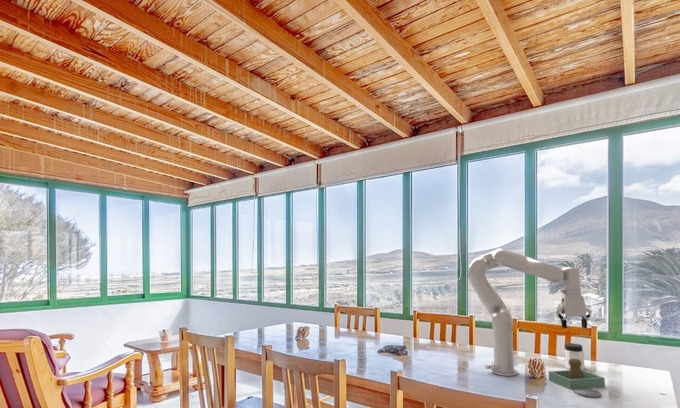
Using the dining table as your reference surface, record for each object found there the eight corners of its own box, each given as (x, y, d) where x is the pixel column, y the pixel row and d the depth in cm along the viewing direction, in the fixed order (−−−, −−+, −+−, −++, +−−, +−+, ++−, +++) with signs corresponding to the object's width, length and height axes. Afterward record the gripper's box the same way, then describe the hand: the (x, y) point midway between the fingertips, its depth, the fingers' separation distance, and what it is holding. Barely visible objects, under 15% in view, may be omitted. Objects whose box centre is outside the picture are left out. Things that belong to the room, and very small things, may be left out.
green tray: (570, 389, 184) (569, 380, 184) (548, 380, 197) (548, 371, 198) (605, 386, 187) (604, 377, 187) (581, 377, 201) (581, 369, 201)
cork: (569, 380, 196) (568, 356, 198) (584, 382, 193) (582, 358, 194) (568, 383, 191) (566, 359, 193) (583, 386, 188) (581, 361, 189)
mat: (586, 398, 172) (586, 396, 172) (568, 390, 182) (568, 388, 182) (606, 397, 174) (606, 394, 174) (588, 389, 184) (588, 387, 184)
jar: (578, 371, 211) (576, 347, 213) (562, 367, 218) (561, 344, 219) (587, 368, 216) (585, 345, 217) (571, 365, 223) (570, 342, 224)
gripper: (558, 293, 199) (560, 329, 197) (594, 293, 199) (596, 329, 197) (550, 291, 207) (552, 326, 205) (585, 291, 207) (587, 326, 205)
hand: (574, 328), depth 201 cm, fingers open, 9 cm apart
